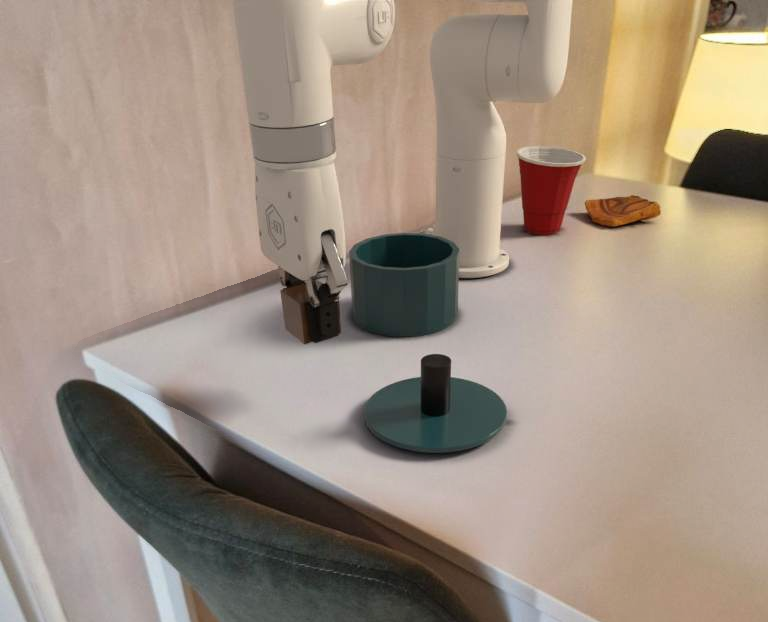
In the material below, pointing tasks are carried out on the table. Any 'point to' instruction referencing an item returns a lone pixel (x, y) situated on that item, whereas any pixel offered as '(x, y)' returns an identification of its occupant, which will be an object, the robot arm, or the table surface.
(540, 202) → the plastic cup
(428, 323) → the pot
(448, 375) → the lid
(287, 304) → the block
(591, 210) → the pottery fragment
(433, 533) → the table surface
